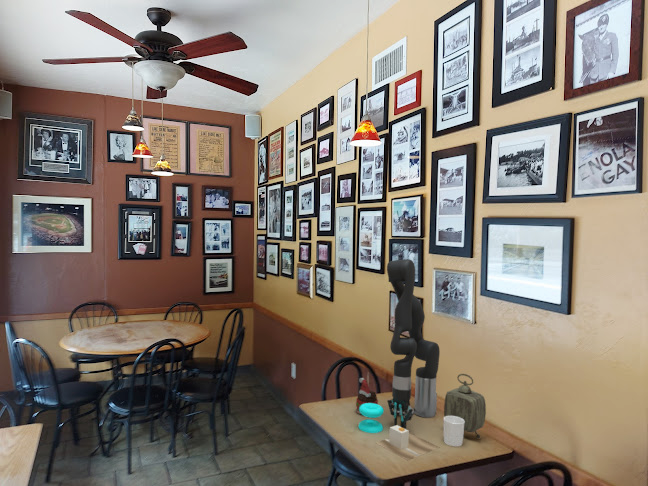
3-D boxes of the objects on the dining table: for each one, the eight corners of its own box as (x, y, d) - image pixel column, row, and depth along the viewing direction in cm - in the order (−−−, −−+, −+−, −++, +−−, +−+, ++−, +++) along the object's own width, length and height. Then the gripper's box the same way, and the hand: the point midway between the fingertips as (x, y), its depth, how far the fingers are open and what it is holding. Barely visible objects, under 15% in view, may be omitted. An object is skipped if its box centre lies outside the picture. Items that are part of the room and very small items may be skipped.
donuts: (360, 400, 186) (384, 403, 184) (359, 424, 186) (383, 427, 184) (357, 409, 176) (382, 412, 174) (356, 434, 176) (381, 437, 174)
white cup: (460, 452, 164) (461, 425, 164) (439, 446, 169) (440, 420, 169) (465, 444, 171) (467, 418, 171) (445, 439, 175) (446, 414, 175)
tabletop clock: (484, 439, 177) (487, 376, 177) (473, 445, 171) (476, 381, 171) (452, 427, 187) (454, 368, 187) (440, 432, 181) (443, 372, 181)
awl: (399, 429, 183) (400, 407, 183) (404, 431, 181) (405, 409, 180) (395, 430, 181) (395, 408, 181) (400, 433, 179) (401, 411, 179)
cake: (382, 415, 197) (383, 374, 197) (365, 418, 192) (367, 377, 192) (367, 407, 206) (368, 368, 206) (351, 410, 201) (352, 371, 201)
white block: (396, 440, 169) (397, 423, 169) (408, 446, 164) (409, 429, 164) (389, 443, 167) (389, 425, 167) (400, 449, 162) (401, 431, 162)
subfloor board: (407, 434, 178) (407, 431, 178) (439, 450, 165) (440, 447, 165) (375, 445, 167) (375, 442, 167) (407, 463, 154) (407, 460, 154)
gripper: (383, 383, 184) (381, 424, 184) (408, 392, 173) (406, 436, 173) (395, 380, 189) (393, 420, 189) (421, 389, 178) (419, 432, 177)
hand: (400, 428), depth 181 cm, fingers closed on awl, 2 cm apart
